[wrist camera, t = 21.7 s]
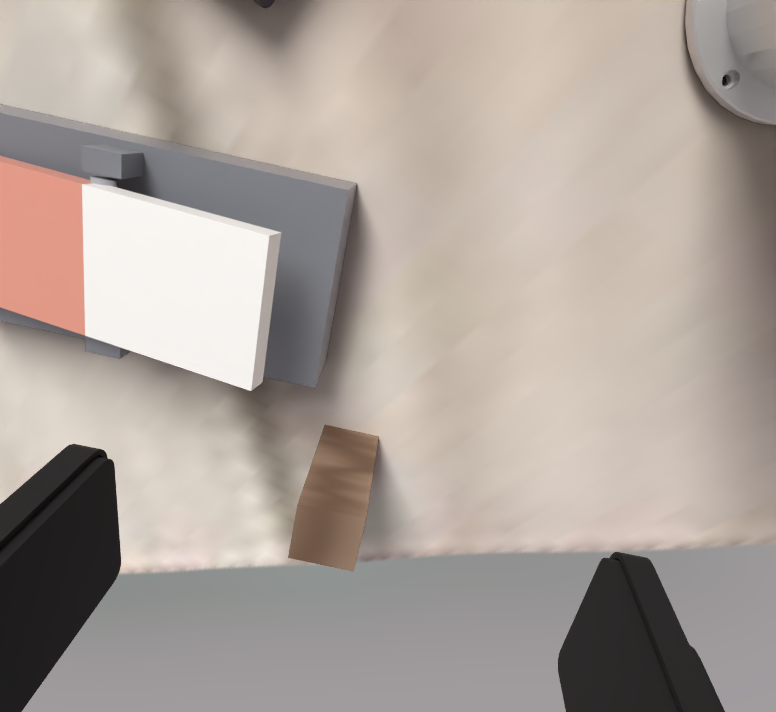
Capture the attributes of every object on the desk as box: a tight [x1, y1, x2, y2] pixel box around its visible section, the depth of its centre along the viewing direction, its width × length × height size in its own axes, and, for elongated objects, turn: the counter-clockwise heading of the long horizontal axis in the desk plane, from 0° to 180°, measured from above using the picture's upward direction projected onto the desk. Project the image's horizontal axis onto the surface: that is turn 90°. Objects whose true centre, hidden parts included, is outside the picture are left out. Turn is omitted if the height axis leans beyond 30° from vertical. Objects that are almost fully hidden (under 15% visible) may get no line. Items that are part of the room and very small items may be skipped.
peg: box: [288, 425, 379, 571], centre depth 35 cm, size 4×4×9 cm
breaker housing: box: [0, 104, 357, 388], centre depth 31 cm, size 24×12×6 cm, turn 78°
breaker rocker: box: [0, 156, 281, 391], centre depth 28 cm, size 20×8×2 cm, turn 78°
